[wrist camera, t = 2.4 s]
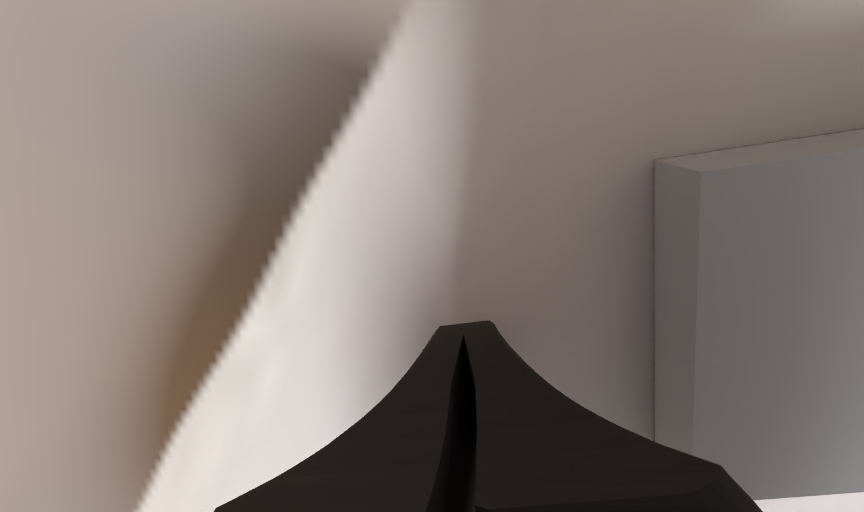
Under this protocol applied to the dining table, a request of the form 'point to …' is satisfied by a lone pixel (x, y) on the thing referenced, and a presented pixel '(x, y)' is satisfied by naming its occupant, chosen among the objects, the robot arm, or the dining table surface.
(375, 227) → the dining table surface
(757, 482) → the grey shell
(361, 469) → the robot arm
